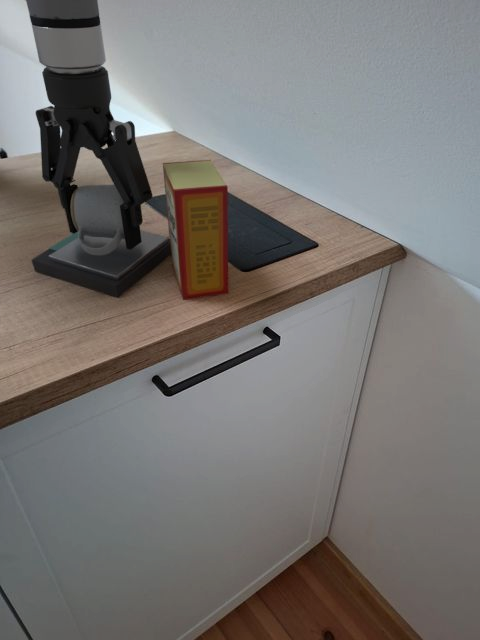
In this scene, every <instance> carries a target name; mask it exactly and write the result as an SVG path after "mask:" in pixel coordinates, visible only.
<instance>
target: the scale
mask: <svg viewBox="0 0 480 640" xmlns="http://www.w3.org/2000/svg"><path fill="white" fill-rule="evenodd" d="M77 238H78V232H76V233H71V234H70V235H68V236H67V237H65V238H63V239H62V240H60V241H59V242H57V243H55V244H53V245H52V246H50V247H49V248H48V249H47V250H45V251H43V252H42V253H40V254H39V255H36V256H34V257H33V258H31V263H32V266H33V269H34V272H35V273H39V274H42V275H45V276H48V277H52V278H54V279H58V280H61V281H63V282H68V283H70V284H74V285H77V286H80V287H82V288H86V289H89V290H93V291H96V292H99V293H102V294H105V295H108V296H112V297H115V298H120V297H121V296H122V295H123V294H124V293H126V292H127V291H128V290H130V289H131V288H132V287H133V286H135V285H136V284H137V283H138V282H139V281H140V280H142V279H143V278H145V276H147V275H148V274H149V273H150V272H152V271H153V270H154V269H156V268H157V267H158V266H160V265H161V264H162V263H163V262H164V261H165V260H167V259H168V258H169V257H170V256H171V247H170V237H168V242H167V243H166V244H165V245H163V246H162V247H161V248H160V249H158V250H157V251H156V252H154V253H153V254H152V255H150V256H149V257H148V258H147V259H145V260H144V261H143V262H141V263H140V264H139V265H137V266H136V267H135V268H134V269H132V270H131V271H130V272H128V273H127V274H126V275H124V276H123V277H122V278H121V279H119V280H118V281H116V280H112V279H109V278H106V277H103V276H99V275H96V274H93V273H89V272H86V271H83V270H80V269H76V268H73V267H70V266H66V265H63V264H60V263H57V262H53V261H50V259H49V255H51V254H52V253H54V252H56V251H57V250H59V249H61V248H62V247H64V246H65V245H67V244H69V243H70V242H72V241H74V240H75V239H77Z"/></svg>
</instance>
